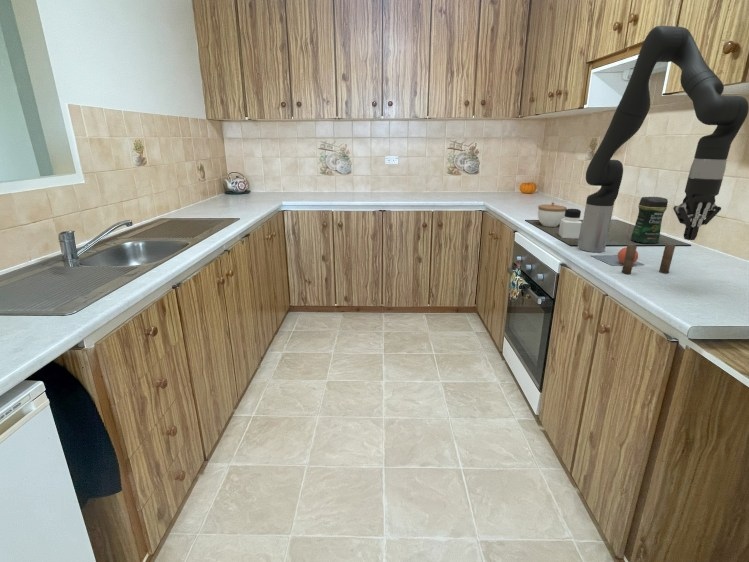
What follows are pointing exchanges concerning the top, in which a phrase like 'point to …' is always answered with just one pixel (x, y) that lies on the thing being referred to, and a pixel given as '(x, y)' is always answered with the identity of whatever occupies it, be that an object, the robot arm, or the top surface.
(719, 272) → the top surface
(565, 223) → the medicine bottle
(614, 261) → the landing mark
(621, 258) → the ball
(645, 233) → the coffee jar
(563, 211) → the white lidded pot
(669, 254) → the post
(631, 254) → the post
